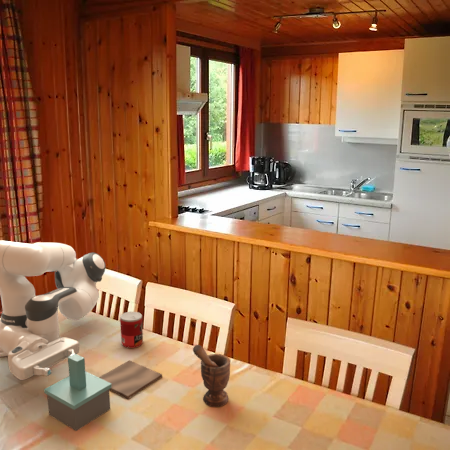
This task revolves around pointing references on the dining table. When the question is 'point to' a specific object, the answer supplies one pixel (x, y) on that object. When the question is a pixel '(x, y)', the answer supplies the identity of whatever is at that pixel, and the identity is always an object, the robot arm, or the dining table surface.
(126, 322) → the canned food
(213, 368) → the mortar and pestle
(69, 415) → the tub
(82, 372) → the lid
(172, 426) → the dining table surface
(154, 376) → the board
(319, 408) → the dining table surface
